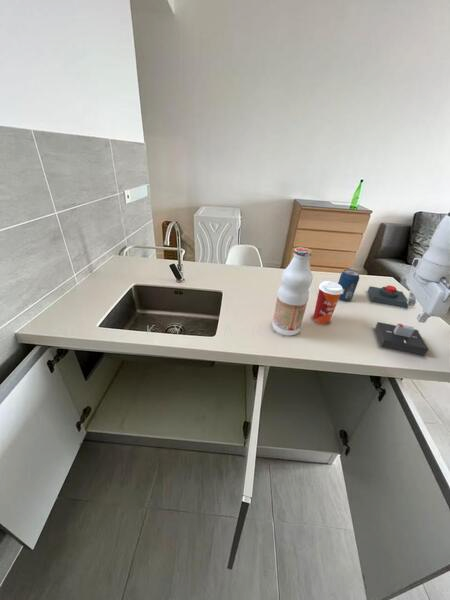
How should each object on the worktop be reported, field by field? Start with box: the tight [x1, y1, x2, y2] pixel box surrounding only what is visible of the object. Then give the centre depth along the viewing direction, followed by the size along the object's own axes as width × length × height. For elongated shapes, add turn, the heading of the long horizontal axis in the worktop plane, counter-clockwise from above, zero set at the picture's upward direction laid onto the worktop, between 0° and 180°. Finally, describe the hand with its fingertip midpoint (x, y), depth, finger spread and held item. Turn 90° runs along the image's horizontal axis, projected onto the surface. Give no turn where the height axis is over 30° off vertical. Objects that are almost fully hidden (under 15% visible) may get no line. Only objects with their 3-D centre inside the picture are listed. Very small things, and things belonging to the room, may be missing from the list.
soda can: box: [337, 268, 360, 302], centre depth 100 cm, size 7×7×12 cm
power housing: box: [367, 285, 409, 309], centre depth 103 cm, size 13×10×4 cm
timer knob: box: [393, 323, 416, 337], centre depth 77 cm, size 4×2×3 cm, turn 72°
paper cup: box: [313, 280, 343, 325], centre depth 85 cm, size 8×8×14 cm
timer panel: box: [374, 321, 429, 357], centre depth 79 cm, size 12×10×3 cm
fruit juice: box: [272, 246, 314, 336], centre depth 76 cm, size 9×9×28 cm
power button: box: [385, 285, 397, 293], centre depth 101 cm, size 4×4×2 cm
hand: (414, 312), depth 74 cm, fingers open, 8 cm apart
